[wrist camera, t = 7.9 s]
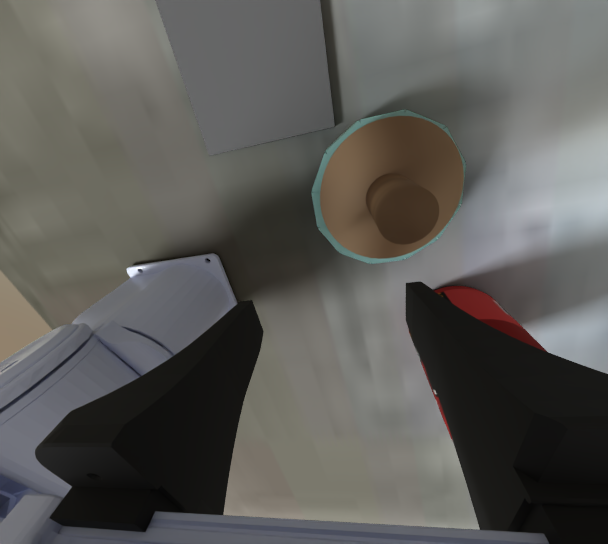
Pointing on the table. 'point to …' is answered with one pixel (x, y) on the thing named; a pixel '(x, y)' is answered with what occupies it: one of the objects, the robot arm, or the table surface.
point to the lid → (391, 187)
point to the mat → (251, 68)
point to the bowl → (319, 177)
